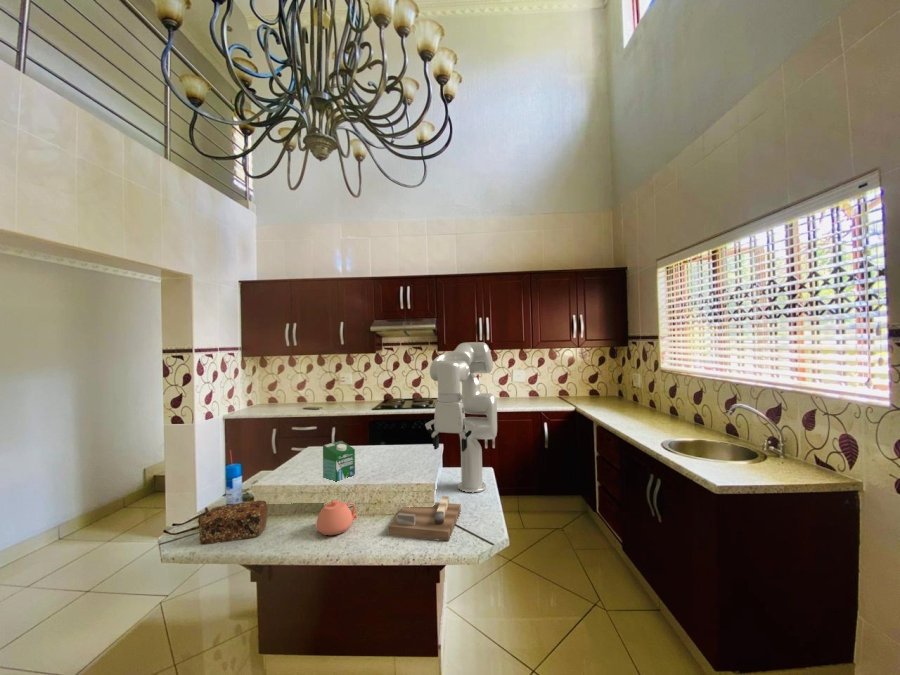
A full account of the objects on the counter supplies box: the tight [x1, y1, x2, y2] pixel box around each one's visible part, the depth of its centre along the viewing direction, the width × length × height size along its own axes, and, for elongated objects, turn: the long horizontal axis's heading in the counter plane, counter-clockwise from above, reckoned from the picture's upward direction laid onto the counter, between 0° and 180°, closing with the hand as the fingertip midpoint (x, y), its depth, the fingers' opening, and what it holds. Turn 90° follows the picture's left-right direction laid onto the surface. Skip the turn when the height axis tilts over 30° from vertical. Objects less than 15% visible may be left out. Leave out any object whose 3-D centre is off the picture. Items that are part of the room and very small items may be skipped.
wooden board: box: [387, 501, 462, 542], centre depth 128 cm, size 21×21×6 cm
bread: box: [198, 499, 268, 546], centre depth 123 cm, size 19×11×10 cm, turn 103°
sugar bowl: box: [315, 500, 358, 536], centre depth 125 cm, size 12×14×10 cm
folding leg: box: [435, 495, 450, 524], centre depth 129 cm, size 17×3×3 cm, turn 172°
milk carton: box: [322, 440, 356, 482], centre depth 144 cm, size 9×9×25 cm
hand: (450, 449), depth 119 cm, fingers open, 9 cm apart
